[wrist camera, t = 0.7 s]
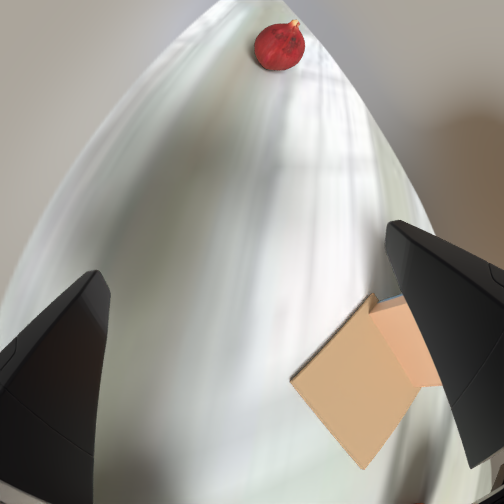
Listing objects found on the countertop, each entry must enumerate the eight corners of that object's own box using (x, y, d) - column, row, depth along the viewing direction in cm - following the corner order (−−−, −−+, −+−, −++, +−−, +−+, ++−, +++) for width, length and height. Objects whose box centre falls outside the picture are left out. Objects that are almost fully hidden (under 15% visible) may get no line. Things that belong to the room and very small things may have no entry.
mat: (361, 469, 22) (364, 469, 22) (289, 381, 23) (292, 381, 22) (422, 379, 28) (425, 379, 28) (370, 293, 29) (373, 293, 28)
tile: (414, 387, 27) (498, 378, 18) (368, 313, 27) (459, 286, 19) (422, 373, 28) (503, 362, 19) (378, 301, 28) (465, 271, 20)
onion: (289, 89, 34) (324, 43, 28) (245, 75, 32) (276, 23, 25) (284, 62, 36) (314, 19, 30) (243, 49, 34) (271, 2, 27)
